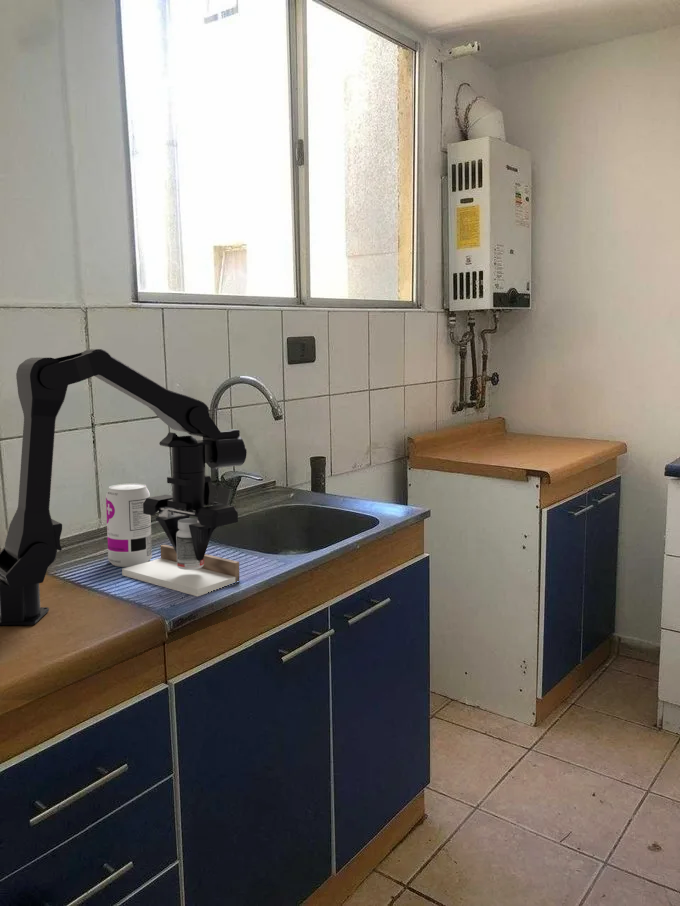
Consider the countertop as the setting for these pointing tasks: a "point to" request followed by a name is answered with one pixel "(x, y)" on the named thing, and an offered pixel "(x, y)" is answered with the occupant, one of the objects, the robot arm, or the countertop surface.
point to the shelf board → (185, 573)
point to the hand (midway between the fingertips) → (190, 557)
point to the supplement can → (128, 525)
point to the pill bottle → (186, 546)
